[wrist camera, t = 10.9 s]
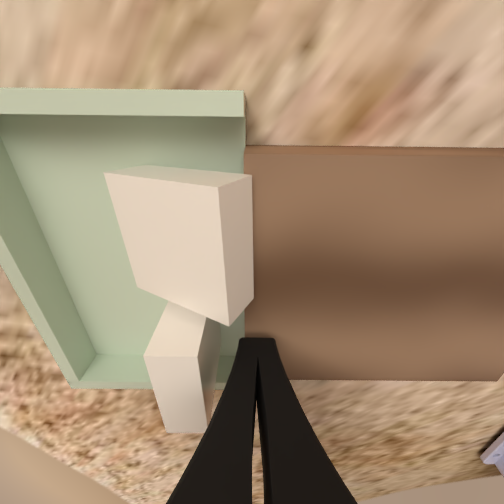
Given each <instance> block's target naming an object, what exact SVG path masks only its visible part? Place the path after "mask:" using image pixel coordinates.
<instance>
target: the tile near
mask: <svg viewBox="0 0 504 504" xmlns="http://www.w3.org/2000/svg"><path fill="white" fill-rule="evenodd" d="M103 173H104V176H105V180H106V183H107V186H108V190H109V193H110V197H111V200H112V203H113V207H114V210H115V213H116V217H117V220H118V224H119V227H120V230H121V234H122V237H123V241H124V244H125V247H126V251H127V254H128V258H129V261H130V264H131V268H132V271H133V275H134V278H135V281H136V285H137V287H138V288H140V289H143V290H145V291H147V292H150V293H152V294H154V295H157V296H159V297H161V298H164V299H166V300H168V301H171V302H173V303H175V304H178V305H180V306H182V307H185V308H187V309H189V310H192V311H194V312H196V313H198V314H201V315H203V316H205V317H208V318H210V319H212V320H215V321H217V322H219V323H222V324H224V325H226V326H230V325H231V324H232V323H233V322H234V321H235V320H236V318H237V317H238V316H239V315H240V314H241V313H242V311H243V310H244V309H245V308H246V307H247V306H248V304H249V303H250V302H251V301H252V300H253V299H254V278H253V213H252V175H248V174H238V173H227V172H217V171H206V170H196V169H186V168H175V167H165V166H154V165H141V166H136V167H130V168H125V169H119V170H114V171H108V172H103Z"/></svg>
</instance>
